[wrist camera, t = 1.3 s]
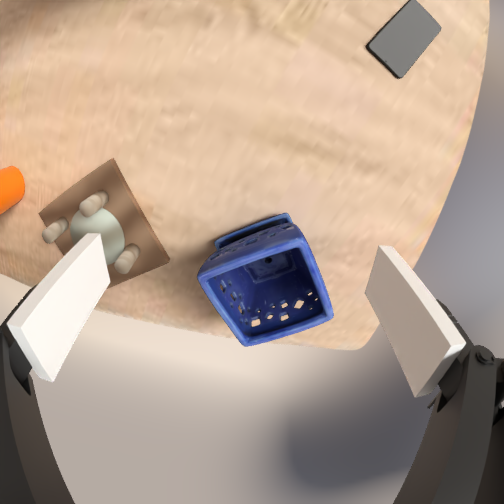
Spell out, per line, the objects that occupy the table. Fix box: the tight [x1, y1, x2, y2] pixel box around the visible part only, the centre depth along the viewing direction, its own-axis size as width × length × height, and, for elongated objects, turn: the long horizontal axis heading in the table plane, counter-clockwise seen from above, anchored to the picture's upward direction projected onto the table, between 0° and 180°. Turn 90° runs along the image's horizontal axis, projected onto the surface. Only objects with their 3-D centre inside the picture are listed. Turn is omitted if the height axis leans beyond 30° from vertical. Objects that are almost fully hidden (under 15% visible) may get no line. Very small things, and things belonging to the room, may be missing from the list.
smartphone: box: [367, 0, 441, 79], centre depth 27 cm, size 7×1×15 cm
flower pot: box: [197, 213, 334, 346], centre depth 38 cm, size 13×13×12 cm
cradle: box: [39, 158, 170, 289], centre depth 38 cm, size 18×18×6 cm
